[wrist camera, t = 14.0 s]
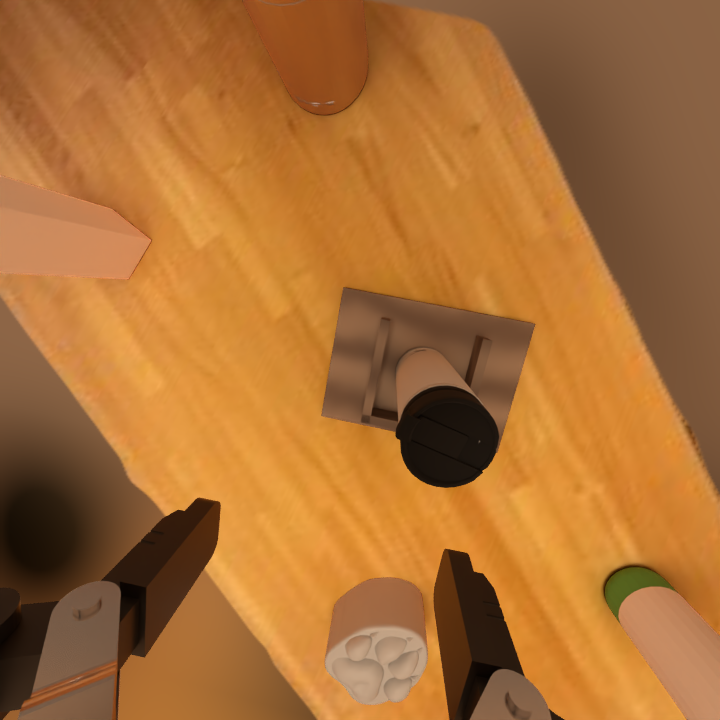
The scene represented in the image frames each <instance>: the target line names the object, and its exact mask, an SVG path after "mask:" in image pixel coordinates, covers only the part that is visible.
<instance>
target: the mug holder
mask: <svg viewBox="0 0 720 720" xmlns="http://www.w3.org/2000/svg"><path fill="white" fill-rule="evenodd" d="M534 327H535V324H533V323H528V322H523V321H518V320H512V319H507V318H502V317H497V316H491V315H486V314H481V313H476V312H470V311H465V310H460V309H455V308H449V307H444V306H439V305H434V304H428V303H423V302H418V301H413V300H407V299H402V298H397V297H392V296H386V295H381V294H376V293H371V292H365V291H360V290H355V289H350V288H344V287H343V293H342V298H341V304H340V310H339V316H338V322H337V328H336V333H335V339H334V345H333V351H332V357H331V363H330V369H329V374H328V380H327V386H326V392H325V398H324V404H323V409H322V415H321V416H324V417H328V418H333V419H338V420H343V421H347V422H352V423H357V424H362V425H366V426H371V427H376V428H381V429H385V430H390V431H395V432H396V427H397V425H398V405H397V388H396V366H397V363H398V361H399V359H400V358H401V356H402V355H403V354H404V353H406V352H407V351H408V350H410V349H412V348H416V347H423V346H424V347H430V348H433V349H435V350H437V351H439V352H440V353H441V354H442V355H443V356H444V357H445V358H446V360H447V361H448V362H449V363H450V364H451V366H452V367H453V368H454V369H455V370H456V372H457V373H458V374H459V375H460V377H461V378H462V379H463V380H464V381H465V383H466V384H467V385H468V386H469V387H470V389H471V390H472V391H473V392H474V394H475V395H476V396H477V397H478V398H479V400H480V401H481V402H482V404H483V405H484V407H485V408H486V410H487V411H488V412H489V413H490V415H491V416H492V417H493V419H494V420H495V423H496V425H497V427H498V432H499V442H498V447H497V448H496V453H497V452H498V448H499V445H500V441H501V438H502V435H503V431H504V428H505V425H506V421H507V418H508V414H509V411H510V408H511V404H512V401H513V398H514V394H515V391H516V387H517V384H518V381H519V377H520V374H521V371H522V367H523V364H524V361H525V357H526V354H527V350H528V347H529V344H530V340H531V337H532V334H533V330H534Z"/></svg>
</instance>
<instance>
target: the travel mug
mask: <svg viewBox="0 0 720 720" xmlns="http://www.w3.org/2000/svg"><path fill="white" fill-rule="evenodd" d="M396 388H397V405H398V425H397V427H396V438H397V439H399V440H400V443H401V454H402V457H403V461H404V463H405V465H406V466H407V468H408V469H409V471H410V472H411V473H412V474H413V475H414V476H415V477H417V478H418V479H419V480H421V481H423V482H425V483H427V484H429V485H432V486H436V487H444V488H448V487H457V486H461V485H465V484H467V483H470V482H472V481H474V480H475V479H476V478H477V477H478V476H480V475H481V474H482V473H483V472H482V471H483V470H484V469H486V468H487V467H488V466H489V464H490V463H491V462H492V460H493V458H494V456H495V454H496V448H497V447H498V442H499V432H498V427H497V425H496V423H495V420H494V419H493V417H492V416H491V415H490V413H489V412H488V411H487V410H486V408H485V407H484V405H483V404H482V402H481V401H480V400H479V398H478V397H477V396H476V395H475V394H474V392H473V391H472V390H471V389H470V387H469V386H468V385H467V384H466V383H465V381H464V380H463V379H462V378H461V377H460V375H459V374H458V373H457V372H456V370H455V369H454V368H453V367H452V366H451V364H450V363H449V362H448V361H447V360H446V358H445V357H444V356H443V355H442V354H441V353H440V352H439V351H437V350H435V349H433V348H430V347H424V346H423V347H416V348H412V349H410V350H408V351H407V352H406V353H404V354H403V355H402V356H401V358H400V359H399V361H398V363H397V366H396Z"/></svg>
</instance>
